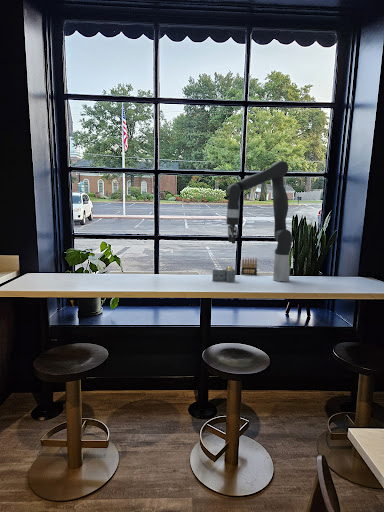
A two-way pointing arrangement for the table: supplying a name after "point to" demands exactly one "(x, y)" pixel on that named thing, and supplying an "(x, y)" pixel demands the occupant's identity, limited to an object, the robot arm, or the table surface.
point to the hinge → (224, 275)
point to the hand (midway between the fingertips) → (231, 242)
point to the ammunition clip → (249, 267)
